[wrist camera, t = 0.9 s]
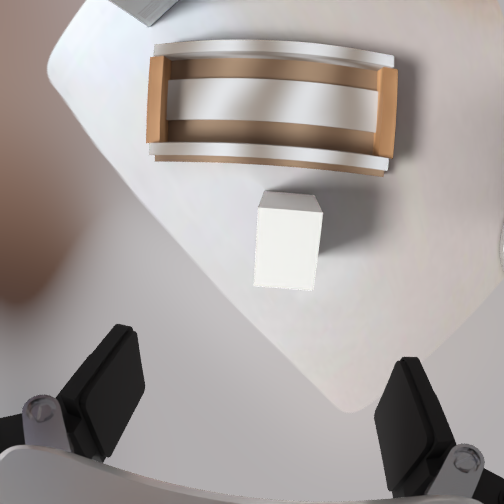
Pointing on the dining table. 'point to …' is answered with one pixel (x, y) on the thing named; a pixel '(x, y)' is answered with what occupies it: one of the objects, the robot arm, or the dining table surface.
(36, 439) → the robot arm
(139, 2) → the supplement box
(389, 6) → the dining table surface
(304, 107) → the rail board
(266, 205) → the block
